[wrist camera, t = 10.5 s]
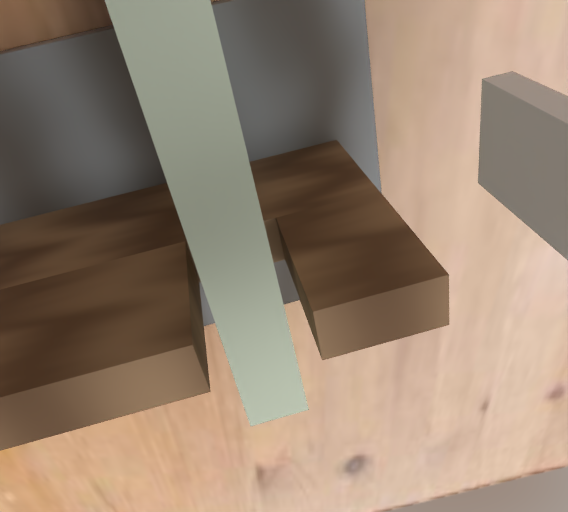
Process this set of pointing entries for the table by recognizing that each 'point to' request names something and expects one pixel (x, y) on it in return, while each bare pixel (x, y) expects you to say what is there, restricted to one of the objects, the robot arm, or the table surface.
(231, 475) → the table surface
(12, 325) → the wood panel stand
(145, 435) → the table surface
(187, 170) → the sage plate
